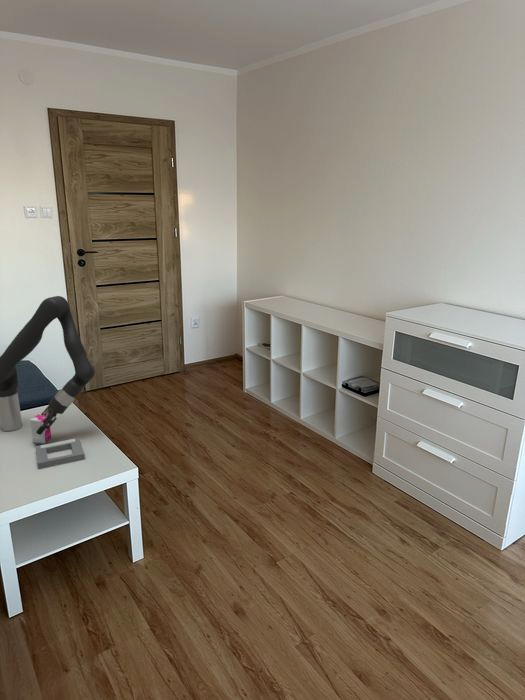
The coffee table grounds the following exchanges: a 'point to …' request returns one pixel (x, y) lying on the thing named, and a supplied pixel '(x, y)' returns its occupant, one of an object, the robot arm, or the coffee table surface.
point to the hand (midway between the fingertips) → (37, 429)
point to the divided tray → (59, 446)
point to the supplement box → (35, 425)
